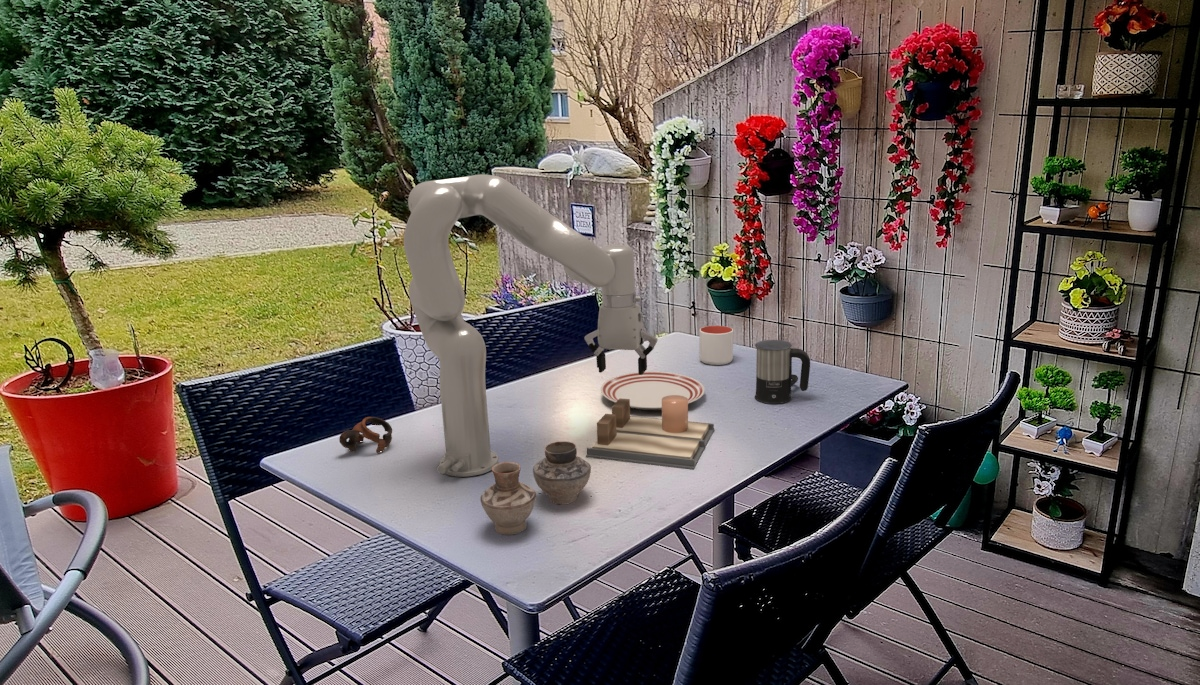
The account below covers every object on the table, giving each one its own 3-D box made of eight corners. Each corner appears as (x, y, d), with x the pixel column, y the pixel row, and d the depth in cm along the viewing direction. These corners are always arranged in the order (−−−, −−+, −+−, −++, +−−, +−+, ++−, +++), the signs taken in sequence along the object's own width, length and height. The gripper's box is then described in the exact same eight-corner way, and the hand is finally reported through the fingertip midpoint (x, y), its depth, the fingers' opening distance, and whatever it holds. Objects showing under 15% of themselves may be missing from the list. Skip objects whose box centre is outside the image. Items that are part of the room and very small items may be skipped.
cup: (698, 366, 230) (698, 333, 228) (700, 356, 240) (700, 325, 237) (732, 366, 229) (733, 334, 226) (732, 357, 238) (733, 325, 236)
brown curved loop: (370, 439, 185) (383, 411, 182) (390, 464, 180) (404, 437, 178) (325, 443, 175) (338, 414, 173) (345, 470, 171) (359, 441, 168)
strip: (690, 462, 163) (690, 435, 162) (592, 451, 170) (591, 425, 169) (699, 446, 171) (699, 419, 170) (605, 436, 178) (604, 411, 177)
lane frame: (693, 469, 162) (693, 461, 161) (585, 457, 169) (585, 449, 169) (714, 429, 182) (714, 422, 182) (617, 420, 190) (617, 413, 189)
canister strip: (700, 443, 173) (700, 417, 171) (607, 433, 180) (606, 408, 178) (708, 428, 181) (708, 403, 179) (619, 420, 188) (618, 396, 186)
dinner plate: (726, 401, 201) (726, 389, 200) (642, 426, 187) (642, 413, 186) (660, 375, 223) (660, 364, 222) (581, 396, 209) (580, 384, 208)
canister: (684, 434, 175) (684, 405, 173) (659, 431, 177) (658, 402, 175) (690, 424, 180) (690, 396, 179) (665, 422, 182) (665, 394, 181)
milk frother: (761, 406, 197) (762, 350, 193) (740, 386, 212) (741, 334, 208) (814, 401, 198) (816, 346, 194) (790, 382, 214) (792, 330, 210)
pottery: (469, 530, 140) (464, 469, 137) (560, 480, 159) (558, 425, 156) (514, 549, 134) (509, 486, 130) (603, 494, 152) (601, 438, 149)
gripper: (660, 297, 176) (662, 369, 180) (588, 295, 181) (592, 365, 186) (651, 305, 169) (653, 379, 174) (577, 303, 174) (581, 374, 179)
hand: (622, 371), depth 180 cm, fingers open, 9 cm apart
